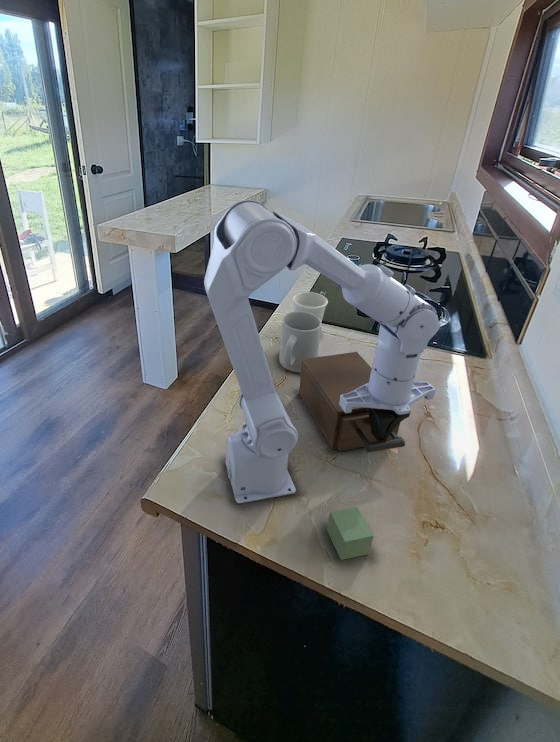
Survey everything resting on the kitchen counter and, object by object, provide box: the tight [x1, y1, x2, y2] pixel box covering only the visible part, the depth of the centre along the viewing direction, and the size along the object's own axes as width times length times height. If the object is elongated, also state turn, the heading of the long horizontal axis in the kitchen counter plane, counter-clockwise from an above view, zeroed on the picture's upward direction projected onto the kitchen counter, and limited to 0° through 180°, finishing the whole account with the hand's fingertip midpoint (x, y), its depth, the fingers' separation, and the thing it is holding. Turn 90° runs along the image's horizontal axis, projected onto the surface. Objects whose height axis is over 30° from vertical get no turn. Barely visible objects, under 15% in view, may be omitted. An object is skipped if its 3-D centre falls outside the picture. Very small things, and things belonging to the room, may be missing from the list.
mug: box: [278, 311, 322, 374], centre depth 85 cm, size 12×8×11 cm
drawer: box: [336, 411, 406, 453], centre depth 68 cm, size 18×10×7 cm, turn 10°
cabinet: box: [298, 351, 372, 450], centre depth 71 cm, size 15×12×9 cm
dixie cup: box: [292, 291, 329, 323], centre depth 97 cm, size 8×8×10 cm
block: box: [326, 506, 374, 561], centre depth 51 cm, size 4×4×4 cm
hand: (378, 436), depth 62 cm, fingers closed
